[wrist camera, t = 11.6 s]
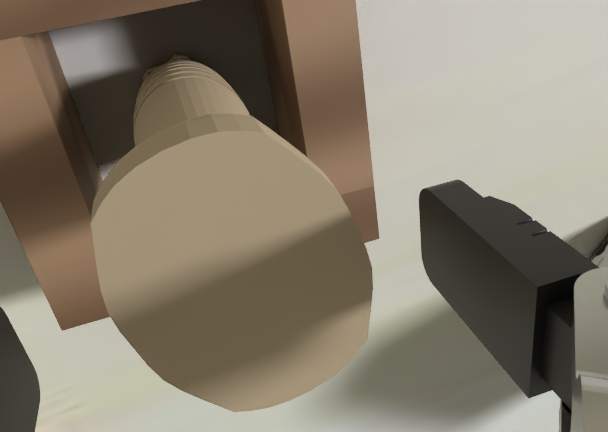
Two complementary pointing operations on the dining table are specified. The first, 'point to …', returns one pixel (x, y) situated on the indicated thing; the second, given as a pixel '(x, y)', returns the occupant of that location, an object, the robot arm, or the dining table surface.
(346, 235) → the handle
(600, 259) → the candy bar box
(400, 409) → the dining table surface
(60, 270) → the collar block
